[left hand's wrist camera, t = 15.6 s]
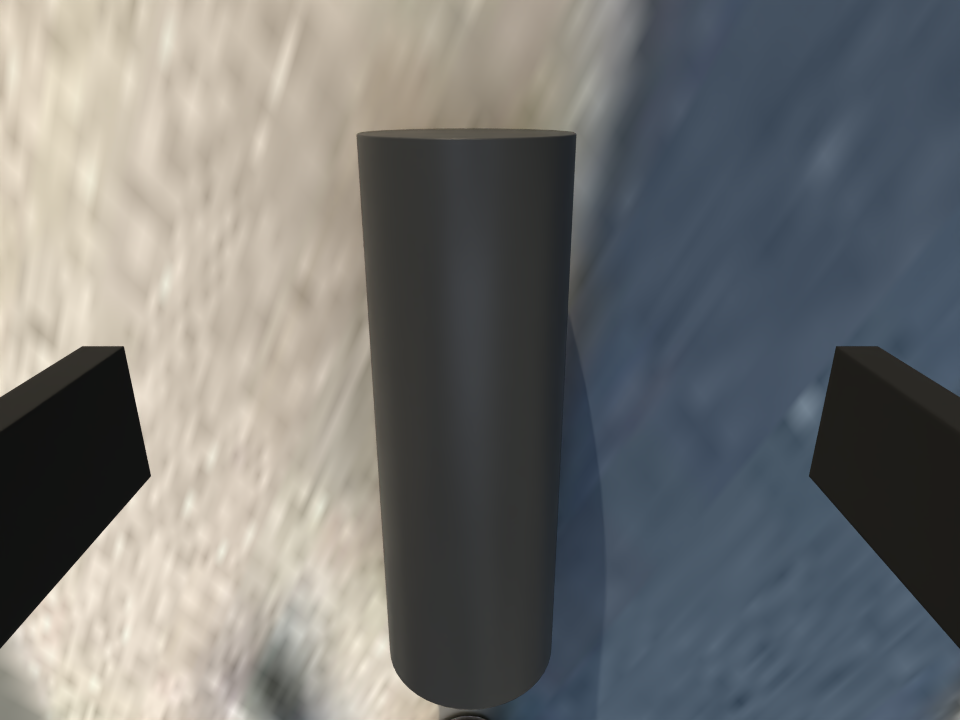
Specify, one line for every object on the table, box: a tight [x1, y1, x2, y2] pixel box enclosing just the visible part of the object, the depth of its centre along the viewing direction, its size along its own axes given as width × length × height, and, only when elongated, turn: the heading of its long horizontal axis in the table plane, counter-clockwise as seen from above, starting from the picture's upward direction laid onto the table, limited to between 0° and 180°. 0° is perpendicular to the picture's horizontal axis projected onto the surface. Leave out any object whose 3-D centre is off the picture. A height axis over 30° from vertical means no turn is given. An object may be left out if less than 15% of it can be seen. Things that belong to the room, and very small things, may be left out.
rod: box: [357, 129, 576, 710], centre depth 31 cm, size 26×9×9 cm, turn 0°
